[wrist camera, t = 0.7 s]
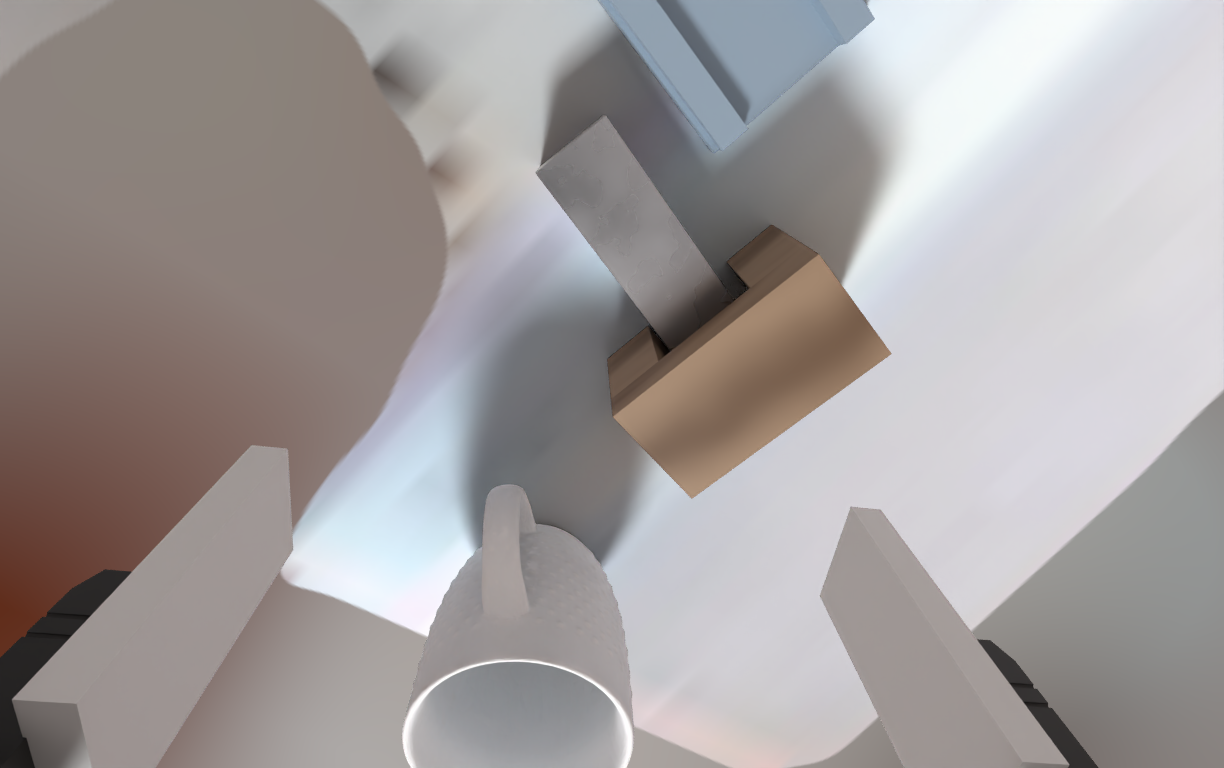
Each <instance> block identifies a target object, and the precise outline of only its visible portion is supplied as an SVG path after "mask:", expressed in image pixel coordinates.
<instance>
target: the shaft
mask: <svg viewBox="0 0 1224 768" xmlns="http://www.w3.org/2000/svg"><path fill="white" fill-rule="evenodd" d="M536 174H537V176H538V177H539V178H540V180H541V181H542V182H543V184H544V185H545V186H546V188H547V189H548V190H549V191H550V193H551V194H552V195H553V197H554V198H555V199H556V201H557V202H558V203H559V205H560V206H561V207H562V209H563V210H564V211H565V213H566V214H567V215H568V216H569V218H570V219H571V220H572V222H573V223H574V224H575V226H576V227H577V228H578V230H579V231H580V232H581V234H582V235H583V236H584V238H585V239H586V240H587V242H588V243H589V244H590V245H591V247H592V248H593V249H594V251H595V252H596V253H597V255H598V256H599V257H600V259H601V260H602V261H603V263H604V264H605V265H606V267H607V268H608V269H609V270H610V272H611V273H612V274H613V276H614V277H615V278H616V280H617V281H618V282H619V284H620V285H621V286H622V288H623V289H624V290H625V292H626V293H627V294H628V296H629V297H630V298H631V299H632V301H633V302H634V303H635V305H636V306H637V307H638V309H639V310H640V311H641V313H642V314H643V315H644V317H645V318H646V319H647V321H648V322H649V323H650V324H651V326H652V327H653V328H654V330H655V331H656V332H657V334H658V335H659V336H660V338H661V339H662V340H663V342H664V343H665V344H666V346H667V347H668V348H669V349H670V351H672V350H673V349H674V348H676V347H677V346H678V345H679V344H681V343H682V342H683V341H684V340H686V339H687V338H688V337H689V336H691V335H692V334H693V333H694V332H696V331H697V330H698V329H699V328H701V327H702V326H703V325H704V324H706V323H707V322H708V321H709V320H711V319H712V318H713V317H714V316H716V315H717V314H718V313H719V312H721V311H722V310H723V309H725V308H726V307H727V306H728V305H730V304H731V303H732V302H733V301H734V300H733V299H732V297H731V296H730V294H729V293H728V291H727V290H726V288H725V287H724V286H723V284H722V283H721V281H720V280H719V278H718V277H717V275H716V274H715V272H714V271H713V270H712V268H711V267H710V265H709V264H708V262H707V261H706V259H705V258H704V257H703V255H702V254H701V252H700V251H699V249H698V248H697V246H696V245H695V244H694V242H693V241H692V239H691V238H690V236H689V235H688V233H687V232H686V231H685V229H684V228H683V226H682V225H681V223H680V222H679V220H678V219H677V218H676V216H675V215H674V213H673V212H672V210H671V209H670V207H669V206H668V205H667V203H666V202H665V200H664V199H663V197H662V196H661V194H660V193H659V191H658V190H657V189H656V187H655V186H654V184H653V183H652V181H651V180H650V178H649V177H648V176H647V174H646V173H645V171H644V170H643V168H642V167H641V165H640V164H639V163H638V161H637V160H636V158H635V157H634V155H633V154H632V152H631V151H630V150H629V148H628V147H627V145H626V144H625V142H624V141H623V139H622V138H621V137H620V135H619V134H618V132H617V131H616V129H615V128H614V126H613V125H612V124H611V122H610V121H609V119H608V118H607V116H606V115H603V116H602V117H600V118H599V119H598V120H597V121H595V122H594V123H593V124H592V125H590V126H589V127H588V128H587V129H585V130H584V131H583V132H582V133H581V134H579V135H578V136H577V137H576V138H574V139H573V140H572V141H571V142H569V143H568V144H567V145H566V146H564V147H563V148H562V149H561V150H560V151H558V152H557V153H556V154H555V155H553V156H552V157H551V158H550V159H548V160H547V161H546V162H545V163H543V164H542V165H541V166H540V167H539V169H538V170H537V171H536Z"/></svg>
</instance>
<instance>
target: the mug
mask: <svg viewBox="0 0 1224 768" xmlns="http://www.w3.org/2000/svg"><path fill="white" fill-rule="evenodd" d="M627 658H628V650H627V647H626V644H625V632H624V629H623V627H622V617H621V615H620V612H619V609H618V603H617V600H616V598H615V596H614V594H613V590H612V586H611V584H610V583H609V582H608V579H607V576H606V573H605V572H604V571H603V569H602V567H601V564H600V563H599V562H598V561H597V560H596V558H595V557H594V555H593V553H592V552H591V551H590V550H589V549H588V548H587V547H586V546H585V545H584V544H583V543H582V542H580V541H579V540H578V539H577V538H575V537H574V536H573V535H571V534H569V533H568V532H566V531H564V530H562V529H559V528H556V527H553V526H549V525H543V524H536V523H535V520H534V517H533V513H532V509H531V505H530V503H529V500H528V498H527V495H526V493H525V491H524V489H523V488H522V487H520V486H518V485H513V484H505V485H499V486H496V487H494V488H493V489H491V491H490V492H489V493H488V496H487V499H486V504H485V510H484V520H483V540H482V547H481V548H479V549H477V550H476V552H475V553H474V555H473V556H472V557H470V558H469V559H468V560H467V562H466V564H465V565H464V566H463V567H462V568H461V569H460V571H459V573H458V575H457V577H456V578H455V579H454V580H453V581H452V583H451V585H450V588H449V590H448V591H447V592H446V594H445V595H444V598H443V601H442V604H441V606H440V607H439V608H438V610H437V613H436V617H435V620H434V622H433V623H432V625H431V626H430V631H429V636H428V639H427V640H426V642H425V644H424V649H423V654H422V657H421V660H420V662H419V665H418V671H417V675H416V678H415V680H414V683H413V690H412V693H411V697H410V700H409V704H408V708H407V711H406V715H405V719H404V724H403V731H402V741H403V748H404V752H405V756H406V758H407V761H408V763H409V765H410V767H411V768H626V767H627V765H628V763H629V760H630V757H631V754H632V750H633V745H634V723H633V711H632V691H631V686H630V670H629V664H628V659H627Z"/></svg>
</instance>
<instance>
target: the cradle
mask: <svg viewBox="0 0 1224 768" xmlns="http://www.w3.org/2000/svg"><path fill="white" fill-rule="evenodd" d="M598 1H599V3H600V4H601V5H602V7H603V8H604V9H605V11H606V12H607V13H608V15H609V16H610V17H611V19H612V20H613V21H614V23H615V24H616V25H617V27H618V28H619V29H620V31H621V32H622V33H623V35H624V36H625V37H626V39H627V40H628V41H629V43H630V44H631V45H632V47H633V48H634V49H635V51H636V52H637V53H638V55H639V56H640V57H641V59H642V60H643V61H644V63H645V64H646V65H647V67H648V68H649V69H650V71H651V72H652V73H653V75H654V76H655V77H656V79H657V80H658V81H659V83H660V84H661V85H662V87H663V88H664V89H665V91H666V92H667V93H668V95H669V96H670V97H671V99H672V100H673V101H674V103H675V104H676V106H677V107H678V108H679V110H680V111H681V112H682V114H683V115H684V116H685V118H686V119H687V120H688V122H689V123H690V124H691V126H692V127H693V128H694V130H695V131H696V132H697V134H698V135H699V136H700V138H701V139H702V140H703V142H704V143H705V144H706V146H707V147H708V148H709V150H710V151H711V152H713V153H716V152H717V151H718V150H722V151H723V150H725V149H726V148H727V147H728V146H729V145H730V144H732V143H733V142H734V141H735V140H736V139H737V138H738V137H740V136H741V135H742V134H743V133H744V132H745V131H747V130H748V128H747V125H748V124H749V123H750V122H751V121H752V120H754V119H755V118H756V117H757V116H758V115H759V114H760V113H762V112H763V111H764V110H765V109H766V108H767V107H769V106H770V105H771V104H772V103H773V102H774V101H775V100H777V99H778V98H779V97H780V96H781V95H782V94H783V93H785V92H786V91H787V90H788V89H789V88H790V87H792V86H793V85H794V84H795V83H796V82H797V81H798V80H800V79H801V78H802V77H803V76H804V75H805V74H806V73H808V72H809V71H810V70H811V69H812V68H813V67H815V66H816V65H817V64H818V63H819V62H820V61H821V60H823V59H824V58H825V57H826V56H827V55H828V54H829V53H831V52H832V51H833V50H834V49H835V48H836V47H838V46H839V45H843V44H847V43H848V42H849V41H850V40H851V39H853V38H854V37H855V36H856V35H857V34H858V33H859V32H861V31H862V30H863V29H864V28H865V27H866V26H867V25H869V24H870V23H871V22H872V21H873V20H874V19H875V18H874V17H873V15H872V13H871V12H870V10H869V8H868V7H867V5H866V3H865V2H864V0H598Z"/></svg>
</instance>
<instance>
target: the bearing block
mask: <svg viewBox="0 0 1224 768" xmlns="http://www.w3.org/2000/svg"><path fill="white" fill-rule="evenodd" d="M727 263H728V264H729V265H730V267H731V268H732V269H733V270H734V272H735V273H736V274H737V275H738V277H739V278H740V279H741V280H742V282H743V283H744V284H745V286H746V287H747V288H748V290H747V291H746V292H745V293H743V294H742V295H741V296H740V297H738V298H737V299H736V300H735V301H733V302H732V303H731V304H730V305H728V306H727V307H726V308H725V309H723V310H722V311H721V312H719V313H718V314H717V315H716V316H714V317H713V318H712V319H711V320H709V321H708V322H707V323H706V324H704V325H703V326H702V327H701V328H699V329H698V330H697V331H696V332H694V333H693V334H692V335H691V336H689V337H688V338H687V339H686V340H684V341H683V342H682V343H681V344H679V345H678V346H677V347H676V348H674V349H673V350H672V351H671V352H670V350H669V349H668V348H667V347H666V346H665V345H664V344H663V342H662V341H661V340H660V339H659V338H658V337H657V336H656V335H655V333H654V332H653V331H652V330H651V329H650V328H649V327H648V326H647V327H646V328H645V329H643V330H642V331H641V332H640V333H639V334H637V335H636V336H635V337H634V338H632V339H631V340H630V341H629V342H628V343H626V344H625V345H624V346H623V347H621V348H620V349H619V350H618V351H617V352H615V353H614V354H613V355H612V356H610V357H609V358H608V359H607V362H608V373H609V383H610V394H611V405H612V415H613V418H614V419H615V420H616V421H617V422H618V423H619V424H620V425H621V426H622V427H623V428H624V429H625V430H626V431H627V432H628V433H629V434H630V435H631V436H632V437H633V439H634V440H635V441H636V442H637V443H638V444H639V445H640V446H641V447H642V448H643V449H644V450H645V451H646V452H647V453H648V454H649V455H650V456H651V457H652V458H653V459H654V460H655V461H656V462H657V463H658V464H659V465H660V466H661V467H662V468H663V470H664V471H665V472H666V473H667V474H668V475H669V476H670V477H671V478H672V479H673V480H674V481H675V482H676V483H677V484H678V485H679V486H680V487H681V488H682V489H683V490H684V491H685V492H686V493H687V494H688V495H689V496H690V497H691V498H694V497H695V496H696V495H698V494H699V493H700V492H702V491H703V490H705V489H706V488H707V487H709V486H710V485H711V484H713V483H714V482H716V481H717V480H718V479H720V478H721V477H722V476H724V475H725V474H727V473H728V472H729V471H731V470H732V469H734V468H735V467H736V466H738V465H739V464H740V463H742V462H743V461H745V460H746V459H747V458H749V457H750V456H751V455H753V454H754V453H756V452H757V451H758V450H760V449H761V448H762V447H764V446H765V445H767V444H768V443H769V442H771V441H772V440H773V439H775V438H776V437H778V436H779V435H780V434H782V433H783V432H785V431H786V430H787V429H789V428H790V427H791V426H793V425H794V424H796V423H797V422H798V421H800V420H801V419H802V418H804V417H805V416H807V415H808V414H809V413H811V412H812V411H813V410H815V409H816V408H818V407H819V406H820V405H822V404H823V403H824V402H826V401H827V400H829V399H830V398H831V397H833V396H834V395H836V394H837V393H838V392H840V391H841V390H842V389H844V388H845V387H847V386H848V385H849V384H851V383H852V382H853V381H855V380H856V379H858V378H859V377H860V376H862V375H863V374H864V373H866V372H867V371H869V370H870V369H871V368H873V367H874V366H875V365H877V364H878V363H880V362H881V361H882V360H884V359H885V358H887V357H888V356H889V355H891V352H890V351H889V350H888V348H887V347H886V345H885V344H884V343H883V341H882V340H881V339H880V337H879V336H878V334H877V333H876V332H875V330H874V329H873V328H872V326H871V325H870V323H869V322H868V321H867V319H866V318H865V317H864V315H863V314H862V312H861V311H860V310H859V308H858V307H857V306H856V304H855V303H854V301H853V300H852V299H851V297H850V296H849V295H848V293H847V292H846V290H845V289H844V288H843V286H842V285H841V284H840V282H839V281H838V280H837V278H836V277H835V275H834V274H833V273H832V271H831V270H830V269H829V267H828V266H827V264H826V263H825V262H824V260H823V259H822V258H821V256H820V255H819V254H818V253H816V252H815V251H813V250H812V249H810V248H808V247H807V246H805V245H804V244H802V243H800V242H799V241H797V240H796V239H794V238H793V237H791V236H789V235H788V234H786V233H785V232H783V231H781V230H780V229H778V228H777V227H775V226H773V225H771V226H769V227H768V228H767V229H766V230H764V231H763V232H762V233H761V234H760V235H758V236H757V237H756V238H755V239H753V240H752V241H751V242H750V243H749V244H747V245H746V246H745V247H744V248H742V249H741V250H740V251H739V252H738V253H736V254H735V255H734V256H733V257H731V258H730V259H729V260H728V261H727Z"/></svg>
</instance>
